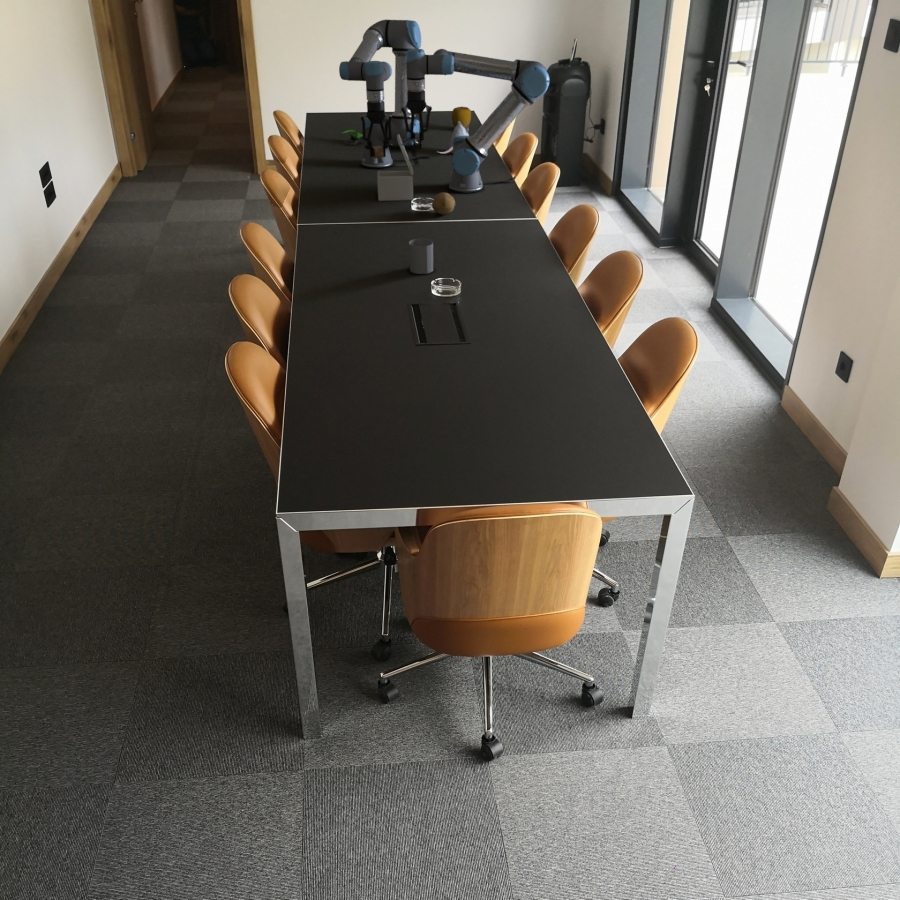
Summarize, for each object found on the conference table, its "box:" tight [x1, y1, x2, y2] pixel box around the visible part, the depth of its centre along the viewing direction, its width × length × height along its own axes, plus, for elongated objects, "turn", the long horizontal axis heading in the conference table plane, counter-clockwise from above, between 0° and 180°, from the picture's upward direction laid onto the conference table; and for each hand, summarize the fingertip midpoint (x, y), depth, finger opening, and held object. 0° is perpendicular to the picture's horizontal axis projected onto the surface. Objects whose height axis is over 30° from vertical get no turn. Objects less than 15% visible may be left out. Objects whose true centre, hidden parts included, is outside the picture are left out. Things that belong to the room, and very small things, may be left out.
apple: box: [451, 105, 472, 129], centre depth 487 cm, size 11×11×13 cm
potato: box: [431, 192, 456, 216], centre depth 360 cm, size 10×14×8 cm
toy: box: [437, 121, 470, 155], centre depth 440 cm, size 9×24×15 cm, turn 137°
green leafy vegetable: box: [340, 129, 365, 146], centre depth 465 cm, size 6×13×30 cm
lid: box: [397, 132, 420, 176], centre depth 373 cm, size 16×10×9 cm
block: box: [372, 146, 384, 158], centre depth 383 cm, size 4×4×4 cm
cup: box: [408, 237, 434, 275], centre depth 305 cm, size 8×8×10 cm
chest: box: [376, 169, 414, 202], centre depth 380 cm, size 15×10×10 cm, turn 94°
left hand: (378, 156), depth 384 cm, fingers closed on block, 5 cm apart
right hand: (417, 148), depth 372 cm, fingers closed on lid, 2 cm apart
